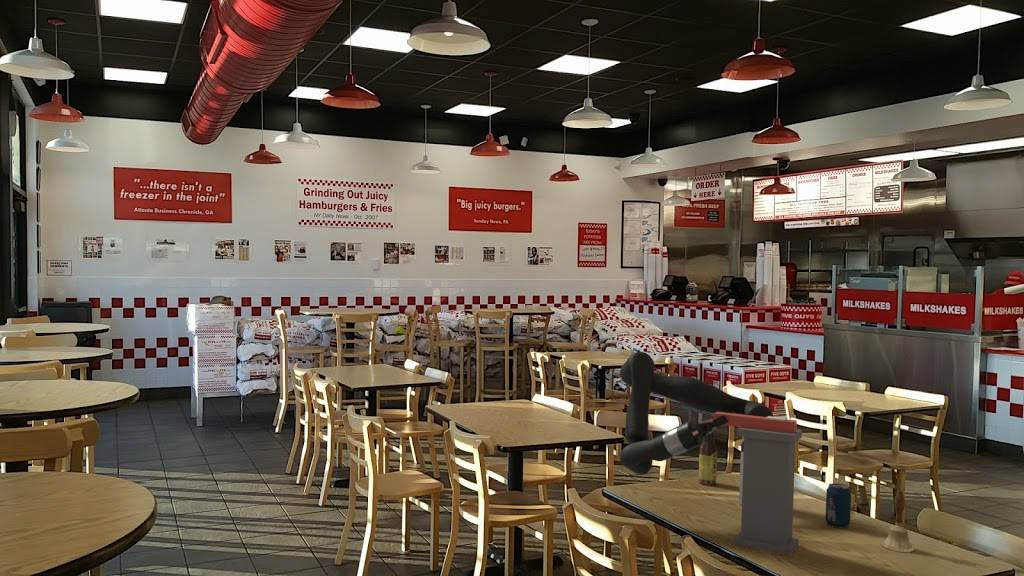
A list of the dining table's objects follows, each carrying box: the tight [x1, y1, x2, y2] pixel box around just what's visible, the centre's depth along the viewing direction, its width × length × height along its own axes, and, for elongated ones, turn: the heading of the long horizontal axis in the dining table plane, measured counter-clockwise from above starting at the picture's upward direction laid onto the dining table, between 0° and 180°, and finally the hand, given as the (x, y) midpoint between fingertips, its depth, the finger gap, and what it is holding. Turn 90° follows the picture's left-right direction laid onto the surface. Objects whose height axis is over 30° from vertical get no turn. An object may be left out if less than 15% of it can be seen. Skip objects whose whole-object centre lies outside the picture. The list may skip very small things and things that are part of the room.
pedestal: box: [733, 427, 803, 556], centre depth 224 cm, size 15×10×32 cm, turn 59°
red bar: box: [713, 412, 798, 433], centre depth 226 cm, size 22×4×3 cm, turn 59°
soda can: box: [824, 483, 852, 529], centre depth 244 cm, size 7×7×12 cm
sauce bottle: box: [698, 430, 718, 486], centre depth 291 cm, size 6×6×20 cm
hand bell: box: [881, 489, 913, 550], centre depth 225 cm, size 8×8×16 cm
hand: (731, 416), depth 229 cm, fingers open, 8 cm apart
